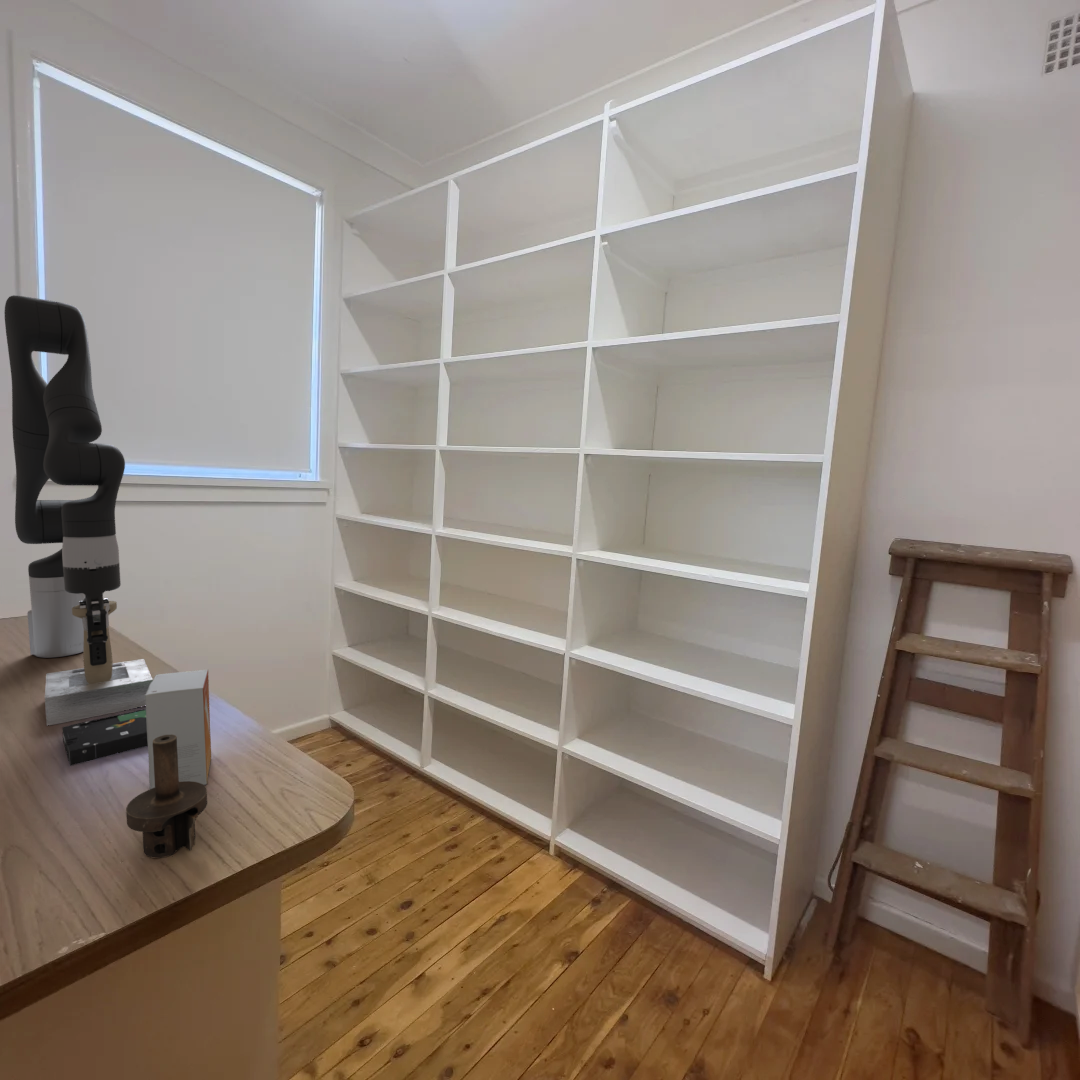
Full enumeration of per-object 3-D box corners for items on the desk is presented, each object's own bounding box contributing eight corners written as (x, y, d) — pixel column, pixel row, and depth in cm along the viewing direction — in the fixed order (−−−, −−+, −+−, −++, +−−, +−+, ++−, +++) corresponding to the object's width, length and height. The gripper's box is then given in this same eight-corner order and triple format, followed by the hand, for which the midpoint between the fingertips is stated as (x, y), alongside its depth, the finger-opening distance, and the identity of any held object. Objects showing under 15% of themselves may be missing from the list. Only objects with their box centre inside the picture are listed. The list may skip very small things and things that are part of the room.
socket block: (46, 726, 90) (44, 697, 89) (48, 698, 100) (46, 672, 100) (154, 704, 98) (152, 678, 98) (144, 681, 109) (143, 657, 109)
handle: (127, 684, 102) (123, 601, 101) (97, 697, 96) (91, 609, 94) (102, 682, 103) (97, 600, 101) (70, 696, 96) (64, 608, 95)
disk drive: (70, 771, 78) (194, 737, 88) (68, 751, 77) (193, 719, 88) (62, 744, 85) (177, 716, 95) (60, 726, 85) (176, 699, 95)
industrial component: (221, 844, 62) (216, 738, 61) (143, 879, 57) (136, 763, 55) (187, 811, 68) (182, 713, 67) (114, 839, 62) (107, 734, 61)
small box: (208, 785, 74) (203, 687, 72) (148, 796, 71) (143, 694, 69) (212, 757, 81) (208, 668, 79) (159, 766, 78) (154, 673, 77)
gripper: (62, 558, 100) (69, 654, 102) (63, 570, 89) (70, 677, 91) (116, 555, 105) (121, 647, 106) (122, 566, 94) (128, 667, 96)
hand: (97, 660), depth 99 cm, fingers closed on handle, 4 cm apart
